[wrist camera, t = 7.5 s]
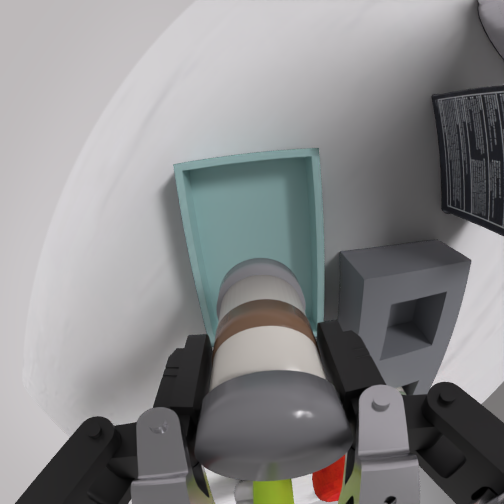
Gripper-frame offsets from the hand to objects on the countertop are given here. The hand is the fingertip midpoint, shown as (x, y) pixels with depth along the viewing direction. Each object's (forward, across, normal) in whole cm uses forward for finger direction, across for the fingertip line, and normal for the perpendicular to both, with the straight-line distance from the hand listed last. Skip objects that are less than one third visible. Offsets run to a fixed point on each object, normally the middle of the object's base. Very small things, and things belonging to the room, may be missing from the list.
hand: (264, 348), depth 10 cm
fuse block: (+11, -12, +11) cm, 19 cm away
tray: (+11, 0, 0) cm, 11 cm away
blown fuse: (+4, 0, 0) cm, 4 cm away
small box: (+11, -20, -7) cm, 24 cm away
